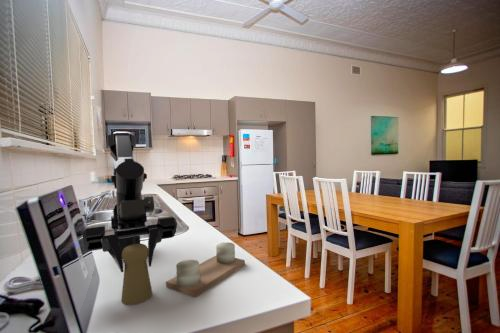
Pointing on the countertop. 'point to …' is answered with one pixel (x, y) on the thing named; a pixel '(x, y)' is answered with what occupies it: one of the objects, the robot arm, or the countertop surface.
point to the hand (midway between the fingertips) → (136, 268)
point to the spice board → (205, 271)
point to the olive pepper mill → (135, 275)
